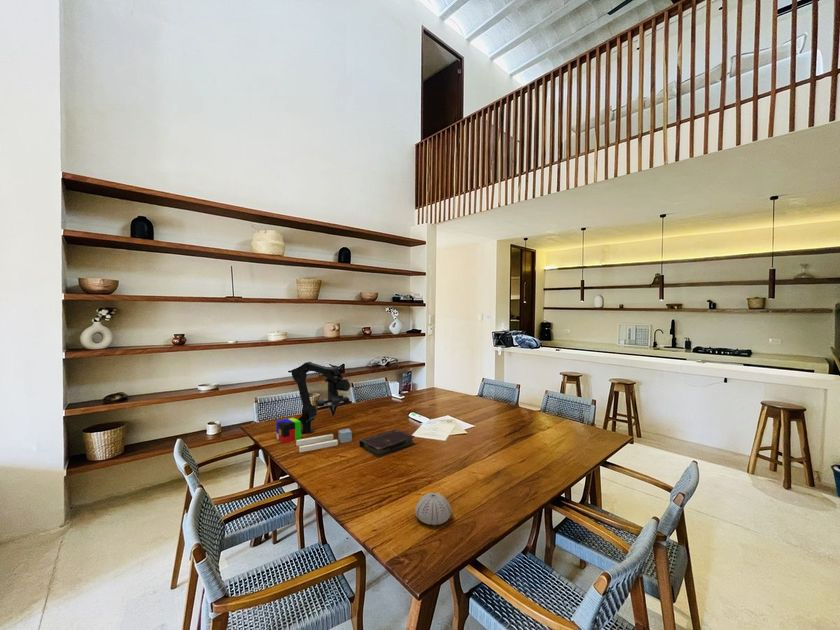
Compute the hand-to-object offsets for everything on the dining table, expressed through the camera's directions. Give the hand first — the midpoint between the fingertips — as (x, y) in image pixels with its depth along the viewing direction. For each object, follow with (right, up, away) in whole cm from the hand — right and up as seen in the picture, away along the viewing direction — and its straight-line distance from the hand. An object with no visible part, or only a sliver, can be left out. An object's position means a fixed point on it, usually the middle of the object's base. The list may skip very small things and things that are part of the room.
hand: (332, 415), depth 202 cm
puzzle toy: (-25, -12, -4) cm, 28 cm away
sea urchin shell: (+56, -14, -77) cm, 97 cm away
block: (+9, -12, -6) cm, 16 cm away
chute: (-5, -12, -13) cm, 19 cm away
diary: (+34, -13, -13) cm, 38 cm away
